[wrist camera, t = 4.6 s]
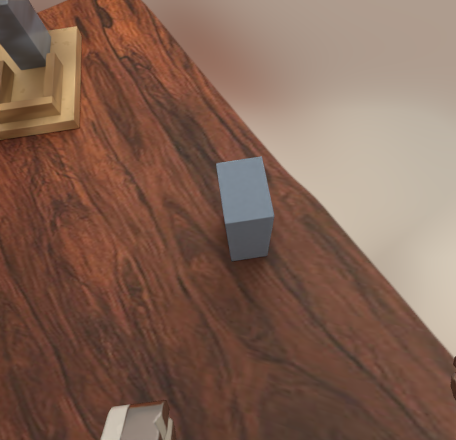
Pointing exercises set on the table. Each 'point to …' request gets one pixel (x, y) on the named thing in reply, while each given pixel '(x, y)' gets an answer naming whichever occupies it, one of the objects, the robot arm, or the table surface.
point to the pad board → (37, 73)
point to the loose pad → (246, 207)
